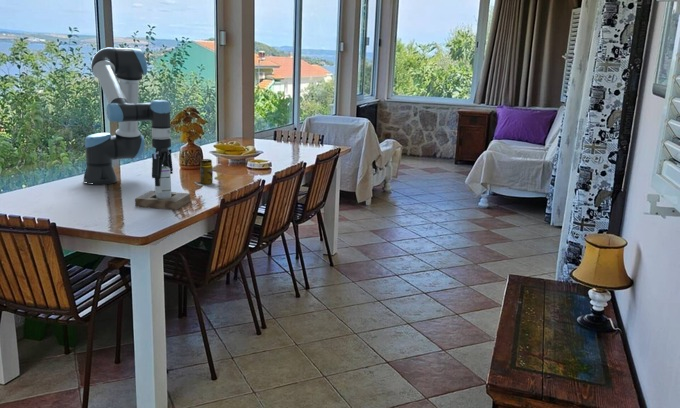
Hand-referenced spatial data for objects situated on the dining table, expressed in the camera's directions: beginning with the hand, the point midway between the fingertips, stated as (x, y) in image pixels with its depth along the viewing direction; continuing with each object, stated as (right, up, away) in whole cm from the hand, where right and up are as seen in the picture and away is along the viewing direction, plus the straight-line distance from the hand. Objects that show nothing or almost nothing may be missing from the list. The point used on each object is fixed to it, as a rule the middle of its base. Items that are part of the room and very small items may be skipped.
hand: (163, 191), depth 252 cm
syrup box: (0, -4, +1) cm, 4 cm away
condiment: (+8, +4, +42) cm, 43 cm away
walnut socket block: (0, -5, +1) cm, 6 cm away
